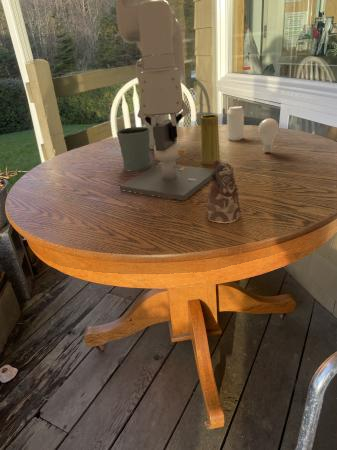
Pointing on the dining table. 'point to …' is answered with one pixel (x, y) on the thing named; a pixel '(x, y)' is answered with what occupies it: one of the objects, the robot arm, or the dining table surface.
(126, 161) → the grey-green cup
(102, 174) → the dining table surface
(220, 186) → the figurine
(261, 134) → the lightbulb
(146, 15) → the robot arm
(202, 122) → the vase
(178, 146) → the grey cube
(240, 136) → the beverage can
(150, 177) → the post base
